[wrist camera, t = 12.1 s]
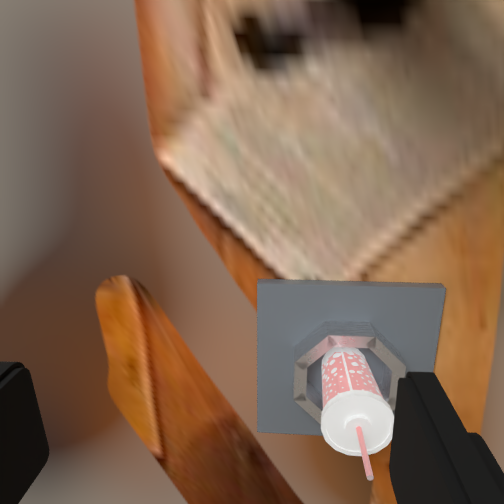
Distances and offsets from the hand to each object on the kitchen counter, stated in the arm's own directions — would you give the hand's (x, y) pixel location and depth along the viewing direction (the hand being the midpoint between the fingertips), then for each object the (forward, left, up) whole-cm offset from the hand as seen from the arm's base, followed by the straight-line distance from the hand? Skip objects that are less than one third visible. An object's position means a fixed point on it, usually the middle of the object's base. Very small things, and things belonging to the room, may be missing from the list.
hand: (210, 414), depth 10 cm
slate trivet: (+17, +8, -30) cm, 35 cm away
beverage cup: (+17, +8, -29) cm, 34 cm away
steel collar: (+17, +8, -28) cm, 34 cm away
